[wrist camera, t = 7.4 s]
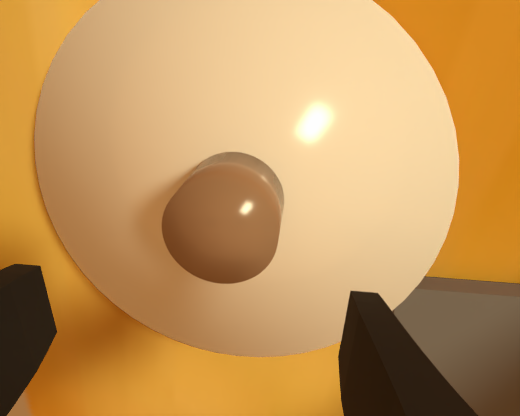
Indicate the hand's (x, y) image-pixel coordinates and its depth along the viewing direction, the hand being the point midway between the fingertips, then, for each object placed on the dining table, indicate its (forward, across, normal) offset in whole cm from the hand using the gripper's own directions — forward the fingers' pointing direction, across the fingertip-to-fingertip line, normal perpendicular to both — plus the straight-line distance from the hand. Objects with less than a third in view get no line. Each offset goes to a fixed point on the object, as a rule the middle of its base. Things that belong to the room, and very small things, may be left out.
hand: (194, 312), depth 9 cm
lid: (+8, 0, +1) cm, 8 cm away
